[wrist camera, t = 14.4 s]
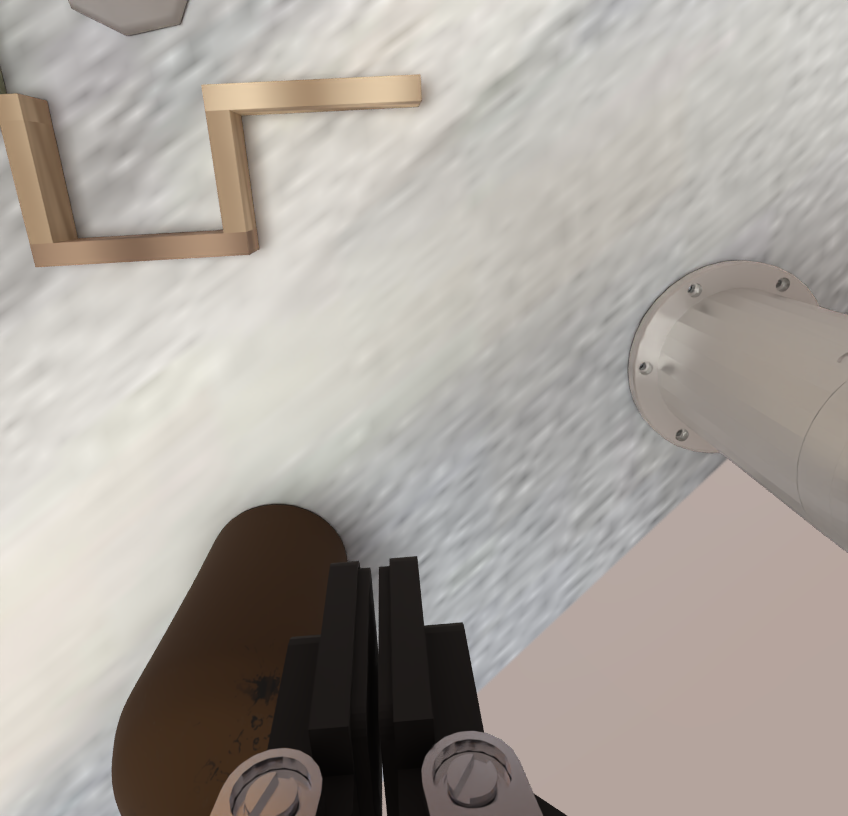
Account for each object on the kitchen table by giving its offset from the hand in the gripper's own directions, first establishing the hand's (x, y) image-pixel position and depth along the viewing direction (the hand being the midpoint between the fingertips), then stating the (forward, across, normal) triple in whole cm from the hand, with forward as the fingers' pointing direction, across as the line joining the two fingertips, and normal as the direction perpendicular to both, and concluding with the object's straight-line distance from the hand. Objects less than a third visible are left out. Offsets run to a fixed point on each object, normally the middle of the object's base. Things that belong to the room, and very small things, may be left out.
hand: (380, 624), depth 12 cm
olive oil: (+29, +8, +17) cm, 35 cm away
